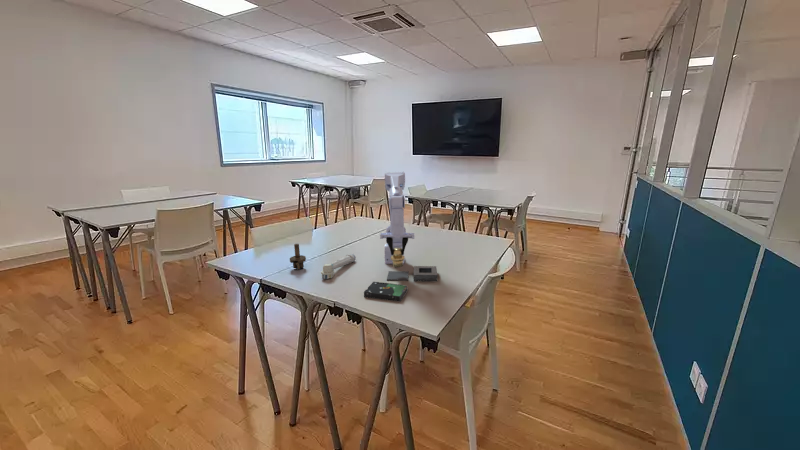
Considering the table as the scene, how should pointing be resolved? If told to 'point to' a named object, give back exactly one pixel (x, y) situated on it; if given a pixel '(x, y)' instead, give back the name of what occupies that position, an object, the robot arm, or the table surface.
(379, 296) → the disk drive
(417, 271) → the housing
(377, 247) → the table surface
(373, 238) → the table surface
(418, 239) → the table surface
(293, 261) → the industrial component
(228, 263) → the table surface
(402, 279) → the mat
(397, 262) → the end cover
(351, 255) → the toothbrush head
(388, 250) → the robot arm
